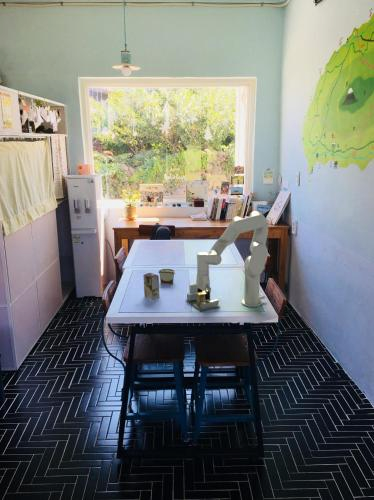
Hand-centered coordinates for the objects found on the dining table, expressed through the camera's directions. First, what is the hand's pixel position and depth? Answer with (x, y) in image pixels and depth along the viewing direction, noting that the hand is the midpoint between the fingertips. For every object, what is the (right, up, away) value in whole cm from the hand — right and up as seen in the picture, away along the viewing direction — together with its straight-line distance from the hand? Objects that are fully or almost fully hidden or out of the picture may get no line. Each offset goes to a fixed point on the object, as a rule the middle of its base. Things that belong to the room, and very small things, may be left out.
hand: (203, 296), depth 265 cm
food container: (-25, +6, +42) cm, 50 cm away
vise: (-1, -5, +2) cm, 5 cm away
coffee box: (-35, -2, +15) cm, 38 cm away
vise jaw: (-5, -2, +10) cm, 11 cm away
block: (0, -4, +1) cm, 4 cm away
